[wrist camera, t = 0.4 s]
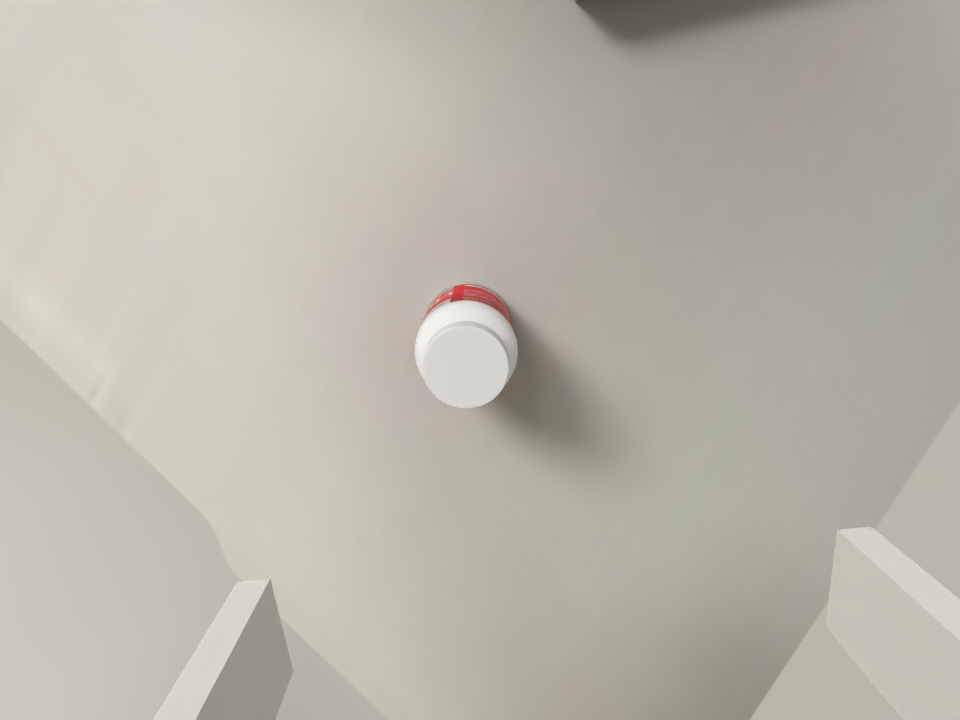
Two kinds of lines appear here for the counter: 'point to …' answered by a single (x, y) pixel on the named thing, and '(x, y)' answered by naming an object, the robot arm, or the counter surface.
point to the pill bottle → (466, 346)
